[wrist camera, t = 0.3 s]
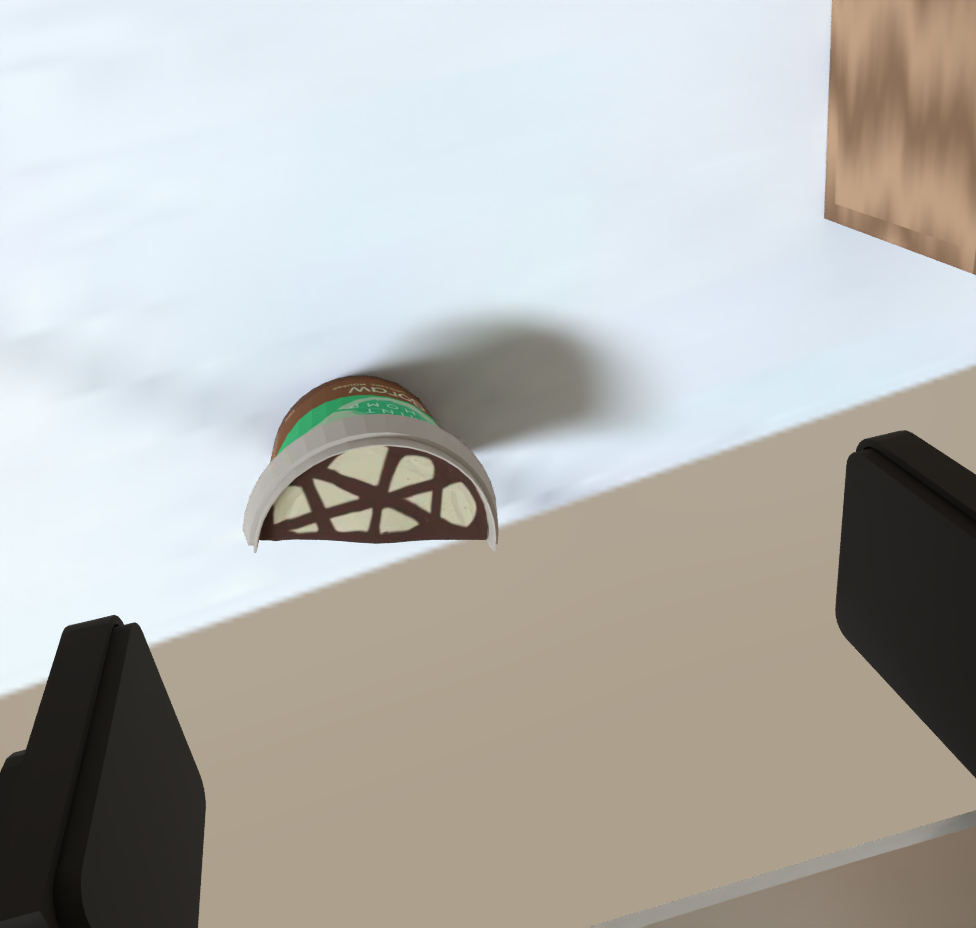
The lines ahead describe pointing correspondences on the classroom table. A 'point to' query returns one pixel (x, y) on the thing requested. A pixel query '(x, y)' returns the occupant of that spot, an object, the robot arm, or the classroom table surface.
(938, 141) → the cabinet
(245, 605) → the classroom table surface
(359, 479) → the food container
